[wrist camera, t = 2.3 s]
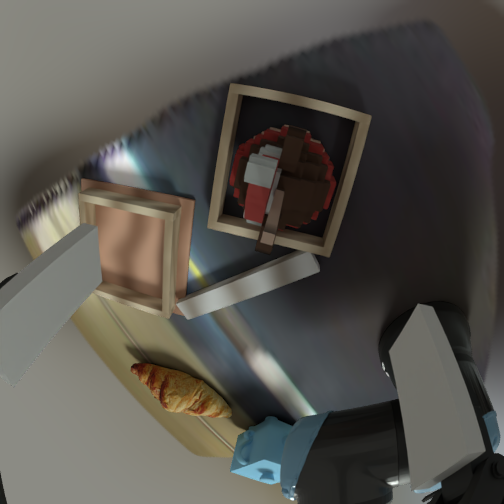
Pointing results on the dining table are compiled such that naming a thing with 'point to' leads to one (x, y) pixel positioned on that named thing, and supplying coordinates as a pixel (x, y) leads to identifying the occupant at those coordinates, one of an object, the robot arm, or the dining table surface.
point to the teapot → (261, 451)
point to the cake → (281, 181)
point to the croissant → (181, 391)
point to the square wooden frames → (181, 221)
